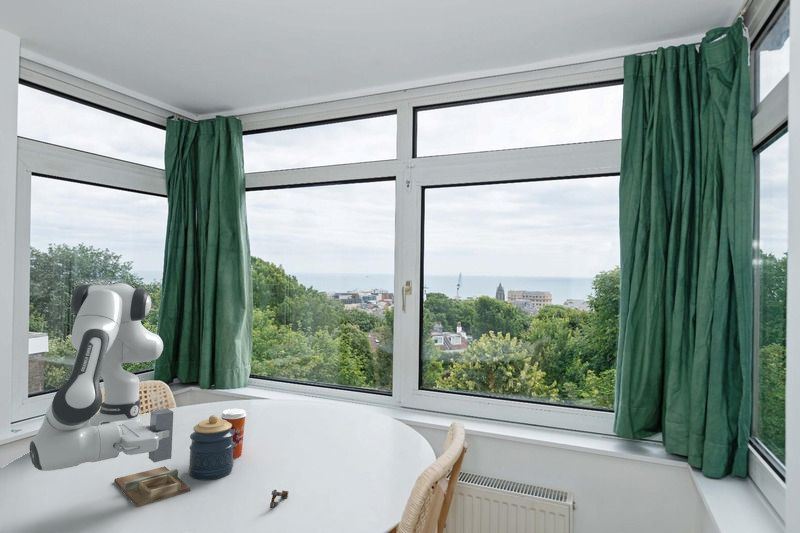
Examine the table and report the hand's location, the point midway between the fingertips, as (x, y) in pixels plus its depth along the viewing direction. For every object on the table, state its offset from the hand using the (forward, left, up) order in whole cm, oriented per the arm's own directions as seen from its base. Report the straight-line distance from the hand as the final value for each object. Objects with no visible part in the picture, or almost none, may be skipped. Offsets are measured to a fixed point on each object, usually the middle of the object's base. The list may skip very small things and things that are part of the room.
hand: (164, 430), depth 134 cm
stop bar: (0, -1, -7) cm, 8 cm away
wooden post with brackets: (+34, +5, -18) cm, 39 cm away
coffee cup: (+2, +30, -17) cm, 35 cm away
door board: (-5, +2, -17) cm, 18 cm away
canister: (+4, +16, -17) cm, 24 cm away
